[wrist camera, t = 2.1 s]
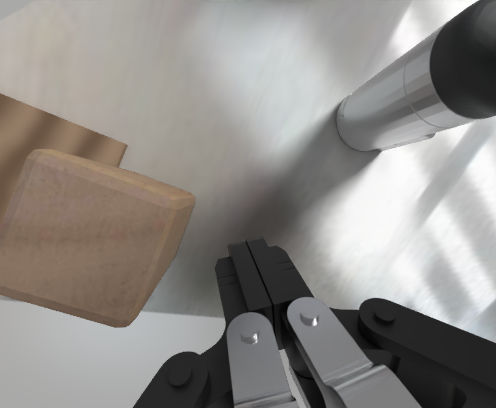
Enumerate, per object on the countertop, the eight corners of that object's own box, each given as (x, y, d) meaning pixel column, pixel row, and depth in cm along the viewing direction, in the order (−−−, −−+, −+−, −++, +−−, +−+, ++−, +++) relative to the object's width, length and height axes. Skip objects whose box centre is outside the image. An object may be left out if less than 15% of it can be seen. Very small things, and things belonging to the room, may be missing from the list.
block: (173, 261, 37) (127, 338, 17) (103, 238, 36) (-35, 292, 16) (198, 195, 37) (180, 197, 17) (129, 170, 36) (24, 140, 16)
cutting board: (127, 145, 36) (125, 144, 35) (83, 254, 35) (80, 255, 35) (-45, 76, 33) (-51, 73, 32) (-94, 194, 33) (-101, 194, 32)
